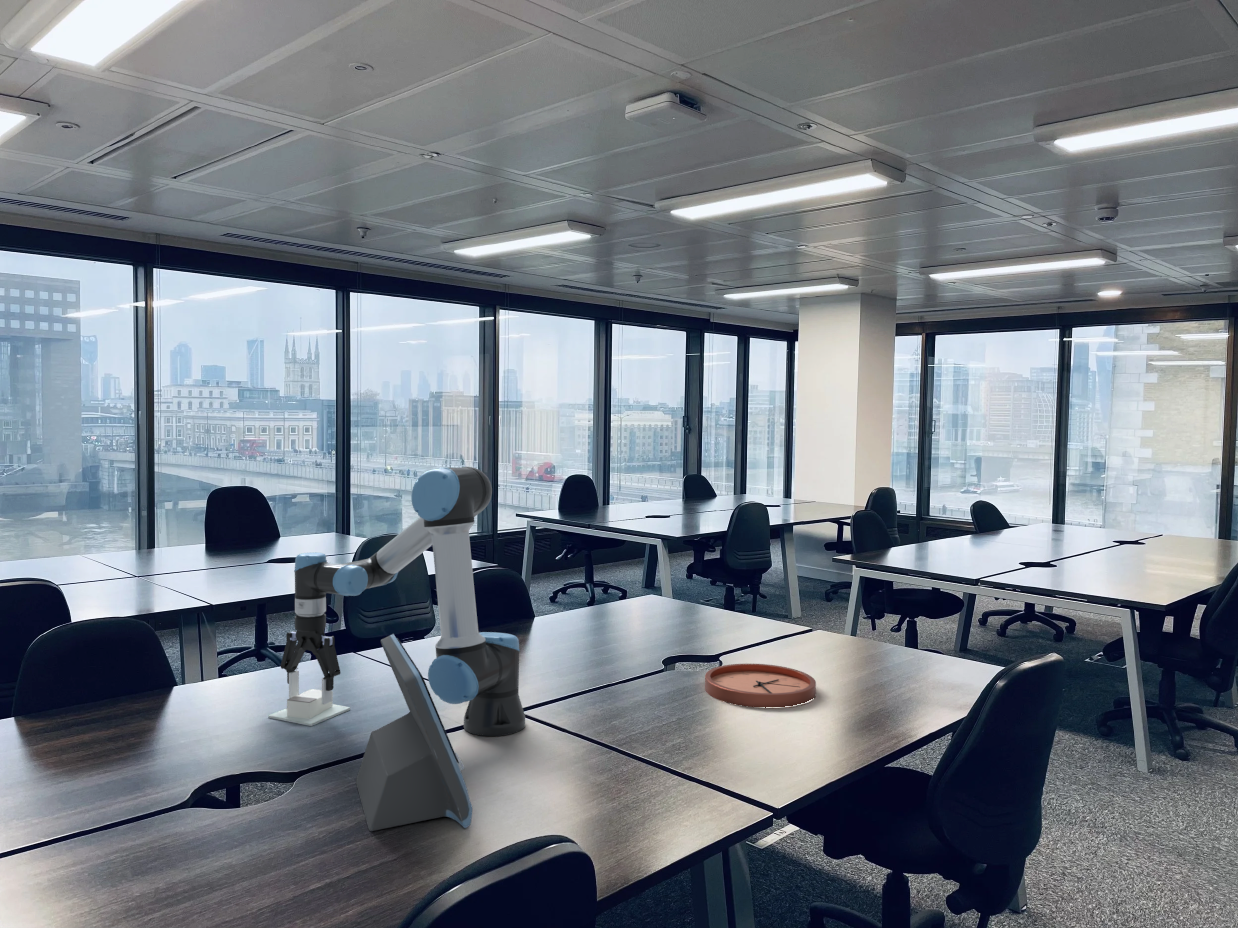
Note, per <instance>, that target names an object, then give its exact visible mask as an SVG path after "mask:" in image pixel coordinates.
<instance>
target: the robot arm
mask: <svg viewBox="0 0 1238 928" xmlns="http://www.w3.org/2000/svg"><path fill="white" fill-rule="evenodd" d="M492 487H493V486H492V483H491V481H490V479H489V477H488V476H487V475H486V474H485V473H484V472H483V471H482V470H480V469H479V468H476V467H473V466H461V467H439V468H434V469H430V470H427V471H425V472H423V473H422V474H421V475H420V476H419V477H418V478H417V480H416V481H415V482H414V484H413V487H412V489H411V505H412V507H413V510H414V512H415V513H416V514H417V515H418V518H416V520H414V521H413V522H412V523H411V524H409V525H408V526H407V527H406V528H405V529H403V530H402V531H401V532H399V533H398V534H397V535H395V537H394V538H393V539H391V540H390V541H389V542H387V543H386V544H385V545H383V546H382V547H381V548H380V549H379V550H378V551H377V552H375V553H374V554H373V555H371V556H370V557H369V558H366V559H365V558H364V559H359V560H356V561H351V562H345V563H333V562H332V563H331V562H327V561H328V560H327V555H326V553H323V552H303V553H299V554H297V555H296V556H295V560H294V571H293V572H294V614H295V616H294V629H295V630H293V631H289V632H286V635H285V637H286V639H285V640H286V643H285V646H284V650H283V654H282V658H281V661H280V668H281V669H282V670H283V669H284V670H285V671H286V673H287V674H286V676H287V677H286V683H287V685H288V699H289V698H291V697H294V696H297V695H299V694H300V692H299V689H300V677H299V676H300V670H298V669H299V667H298V666H299V664H300V662H301V660H302V658H303V656H304V654H305V652H306V651H309V652H312V654H313V655H314V656H315V658H316V660H317V662H318V665H319V668H320V670H321V672H322V675H323V676H324V677H322V678H321V690H322V704H326V703H329V702H331V701H332V691H333V690H334V684H335V683H334V681H335V680H334V679H335V677H337V676H340V675H341V674H342V673H341V668H340V664H339V660H338V655H337V650H336V646H335V643H336V642H335V636H334V635H332V636H326V635H325V628H326V626H327V614H326V612H327V598H326V597H327V594H334V595H340V596H345V597H349V596H351V597H352V596H353V597H355V596H359V595H361V594H362V592H364V591H365V590H367V589H371V588H376V587H381V586H386V585H387V584H390V583H392V582H394V581H395V580H396V579H397V577H398V575H399V572H400V571H401V570H403V569H404V568H405V567H406V566H408V565H409V564H410V563H411V562H413V561H414V560H416V558H417V557H419V556H420V555H421V554H423V553H424V552H425V551H426V550H428V549H429V548H431V546H432V553H433V563H434V574H435V585H436V595H437V606H438V614H439V626H440V627H439V628H440V638H439V639H438V641H436V643H435V645H434V646H435V656H436V657H435V659H433V660H432V662H431V664H430V665H429V668H428V670H427V671H428V672H427V679H428V684H429V687H430V689H431V690H432V692H433V693H434V695H436V696H437V697H438V698H439V700H442V702H443V703H444V702H445V703H447V704H451V705H458V704H459V705H461V704H463V703H467V702H468V704H467V707H466V710H465V712H464V717H463V728H464V730H465V731H466V732H468V733H469V734H472V735H473V734H474V735H477V736H483V737H501V736H508V735H511V734H514V733H517V732H520V731H522V730H524V728H525V726H526V714H525V711H524V708H523V705H522V701H521V698H520V694H519V685H520V683H519V681H520V680H519V679H520V677H519V676H520V652H521V649H520V640H519V638H518V637H517V636H516V635H514V634H511V633H506V632H496V631H494V632H492V631H490V632H489V631H488V632H487V631H482V632H481V631H479V623H478V616H477V603H476V602H477V601H476V594H475V593H476V592H475V585H474V584H475V582H474V570H473V562H472V552H471V541H470V540H471V539H470V529H471V528H472V527H473V526H474V525H475V524H476V523H475V517H476V516H478V515H479V514H481V513H482V512H483V511H484V510H485V508H487V506H488V505H489V504H490V501H491V500H492V495H493V488H492Z"/></svg>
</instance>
